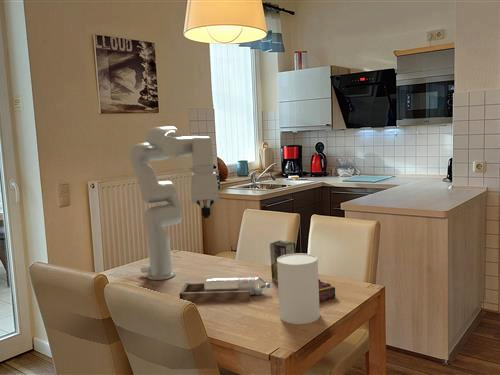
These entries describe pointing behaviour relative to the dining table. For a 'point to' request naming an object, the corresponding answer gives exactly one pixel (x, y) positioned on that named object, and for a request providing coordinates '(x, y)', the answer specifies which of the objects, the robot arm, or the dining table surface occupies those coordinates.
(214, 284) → the water bottle
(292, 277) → the canister
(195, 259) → the dining table surface
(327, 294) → the decorative book
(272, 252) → the coffee box
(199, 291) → the bottle rest
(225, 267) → the dining table surface
